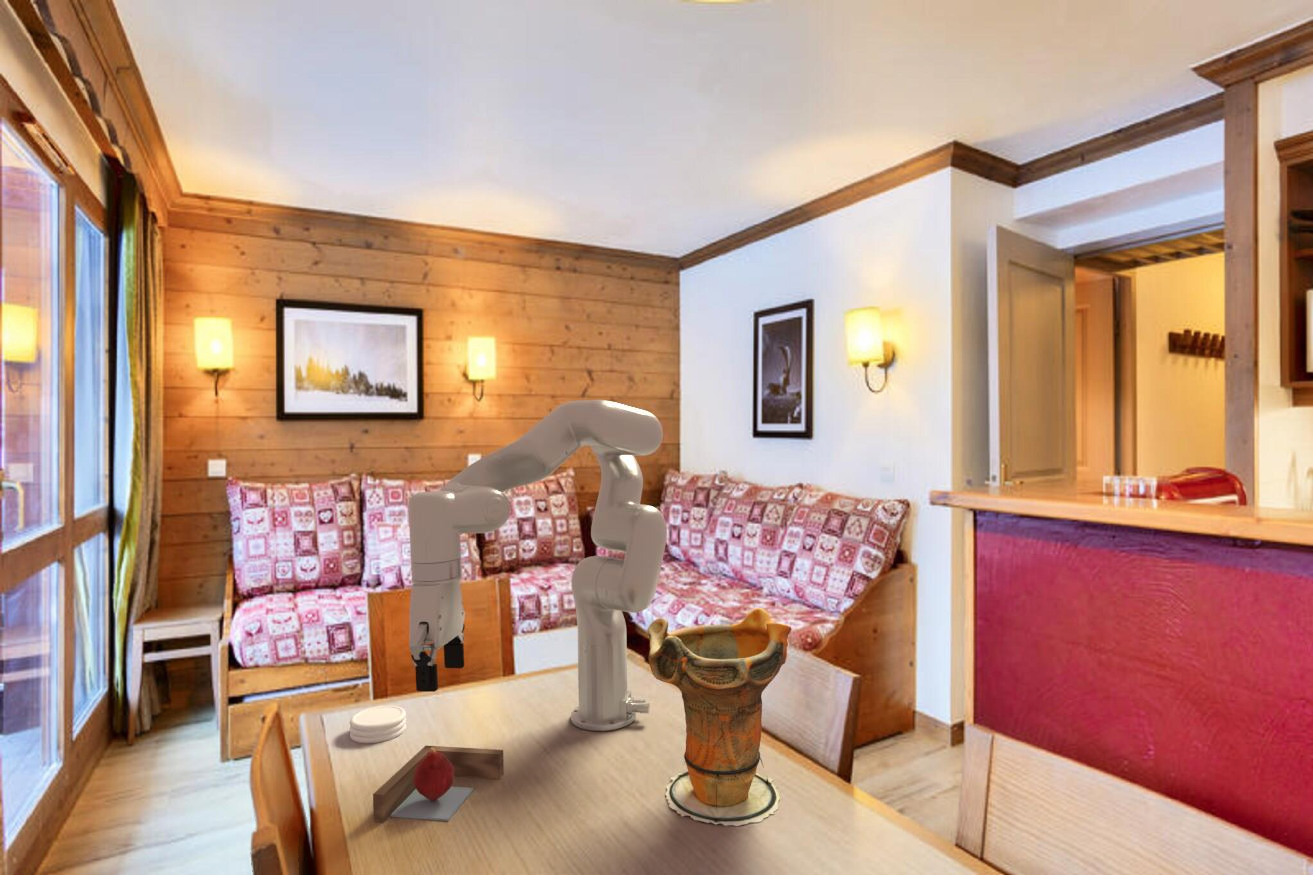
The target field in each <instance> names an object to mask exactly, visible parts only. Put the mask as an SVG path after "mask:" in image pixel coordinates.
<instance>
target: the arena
mask: <svg viewBox="0 0 1313 875" xmlns="http://www.w3.org/2000/svg"><path fill="white" fill-rule="evenodd" d="M430 748H435V750H436V751H437V752H438V753H441V754H443V755H445V756H446V757H447V759H448V760H449V761H450V762H451V764H452V766H453V768H454V777H463V778H464V777H465V778H481V779H482V778H483V779H498V780H500V779H501V778H502V777H503V776H504V770H505V769H504V767H505V766H504V749H496V748H475V747H474V748H473V747H460V746H457V747H455V746H442V745H441V746H439V745H425V746H423V747H422V748H421V749H420V750H419V751H418V752H417V753H416V754H415V755H414V756H412V758H410V759H409V760H408V761H407V762H406V763H405V764H404V765H402V767H401V768H399V769H398V770H397V771H396V773H394V774H393V775H392V776H391V777H390V778H389V779H387V781H385V782H384V783H383V785H382V786H380V787H379V788H378V789H377V790H376V791H375V792H373V793H372V808H373V811H372V812H373V813H372V814H373V815H372V816H373V822H375V823H384V822H386V821H387V819H389V818H390V817H391V814H392V813H393V812H394V811H395V810H396V809H397V808H398V807H399V806H400V805H401V804H402V803H403V802H404V801H405V799H406V798H407V797H408V796H409V795H410V794H411V793H412V792H413V791H414V790H415V789H416V787H415V785H414V774H415V771H416V768H417V766H418V764H419V763H420V762H421V761H422V759H424V758H425V757H426V756H427V755H428V754H429V751H430Z"/></svg>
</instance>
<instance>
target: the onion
mask: <svg viewBox="0 0 1313 875" xmlns="http://www.w3.org/2000/svg"><path fill="white" fill-rule="evenodd" d="M454 777H455V776H454V768H453V766H452V764H451V762H450V761H449V760H448V759H447V757H446V756H445V755H443V754H441V753H438V752H437V751H436V750H435V748H430V751H429V754H428V755H427V756H426V757H425V758H424V759H422V761H421V762H420V763H419V764H418V766H417V768H416V771H415V774H414V785H415V787H416V789H417V791H418V792H419V794H421V795H423V796H424V797H425V798H427V799H429V800H431V801H436V800H437V799H439V798H440V797H441V796H443V795H444V794H445V793H446V792H447V791H448V790H449V789H450V788H451V786H453V783H454Z"/></svg>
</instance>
